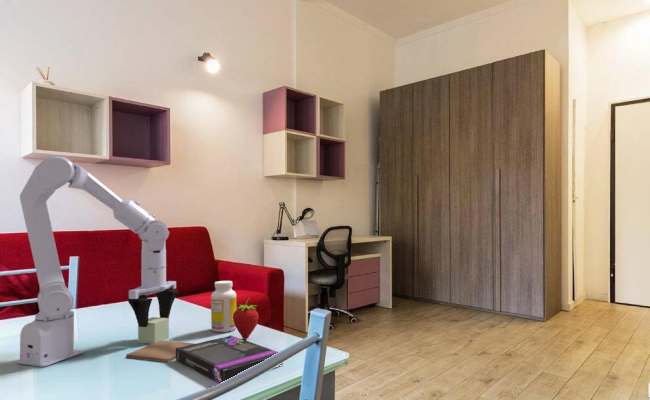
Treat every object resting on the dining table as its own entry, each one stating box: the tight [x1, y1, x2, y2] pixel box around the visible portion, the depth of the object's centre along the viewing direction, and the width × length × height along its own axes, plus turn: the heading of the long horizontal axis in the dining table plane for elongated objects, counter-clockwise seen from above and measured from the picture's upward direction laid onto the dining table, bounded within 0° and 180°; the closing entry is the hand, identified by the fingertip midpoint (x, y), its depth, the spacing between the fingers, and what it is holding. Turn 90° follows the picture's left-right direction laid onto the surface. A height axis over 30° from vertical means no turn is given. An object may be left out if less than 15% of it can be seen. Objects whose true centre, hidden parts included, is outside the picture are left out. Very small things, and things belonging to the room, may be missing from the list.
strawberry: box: [233, 297, 259, 340], centre depth 104 cm, size 6×8×10 cm
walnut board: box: [126, 340, 195, 363], centre depth 95 cm, size 11×11×1 cm
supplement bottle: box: [210, 280, 237, 333], centre depth 113 cm, size 7×7×13 cm
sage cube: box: [137, 316, 170, 344], centre depth 104 cm, size 5×5×5 cm
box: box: [175, 335, 284, 384], centre depth 87 cm, size 14×4×20 cm
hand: (154, 322), depth 104 cm, fingers open, 7 cm apart
